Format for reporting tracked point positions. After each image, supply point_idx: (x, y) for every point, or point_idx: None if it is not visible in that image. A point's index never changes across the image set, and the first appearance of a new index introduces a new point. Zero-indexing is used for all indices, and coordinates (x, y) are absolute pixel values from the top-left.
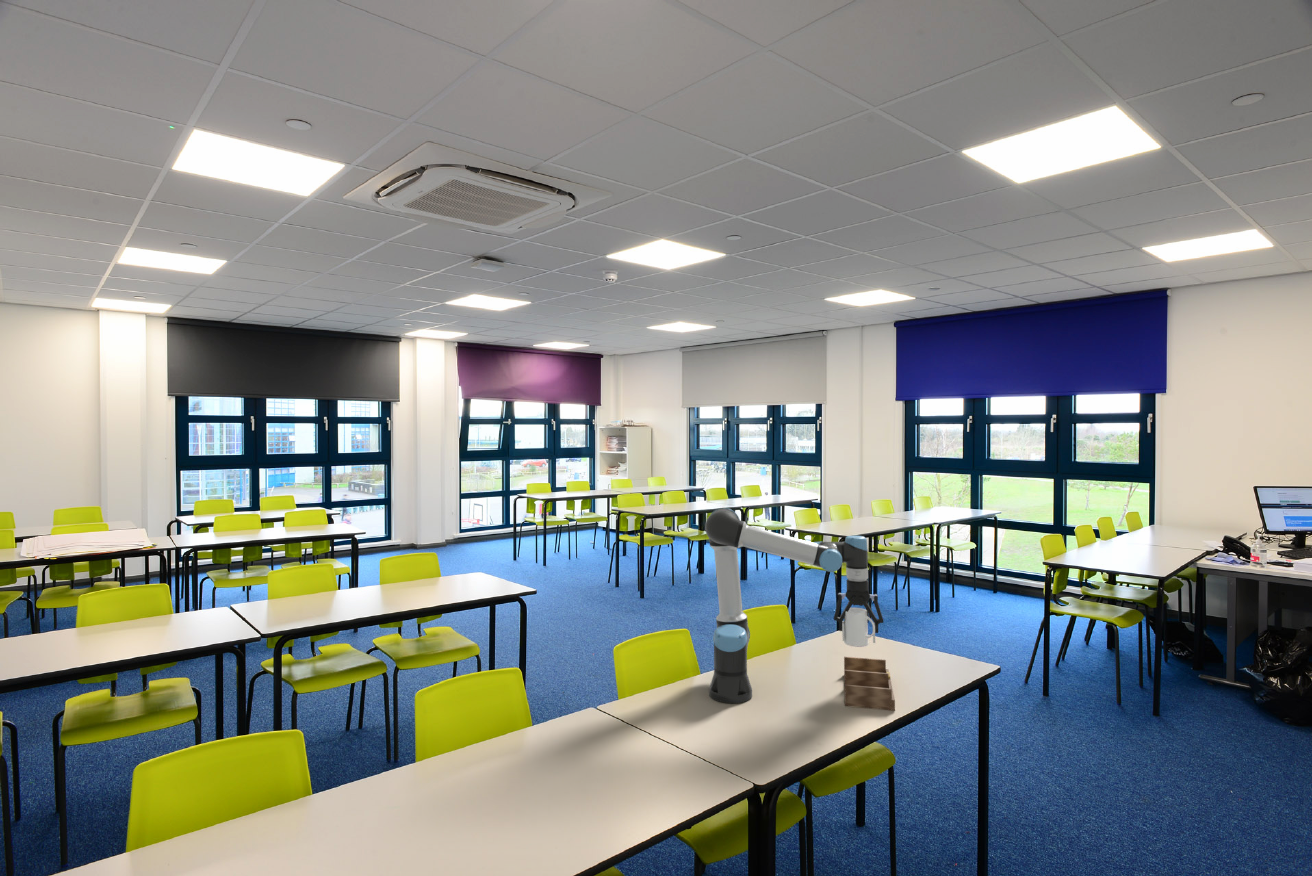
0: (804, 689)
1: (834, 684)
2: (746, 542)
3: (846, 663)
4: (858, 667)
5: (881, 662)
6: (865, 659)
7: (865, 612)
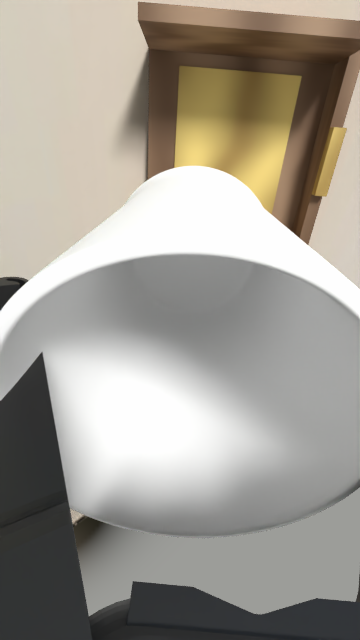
0: (24, 248)
1: (113, 182)
2: None
3: (155, 34)
4: (216, 43)
5: (345, 43)
6: (261, 31)
7: (321, 509)
